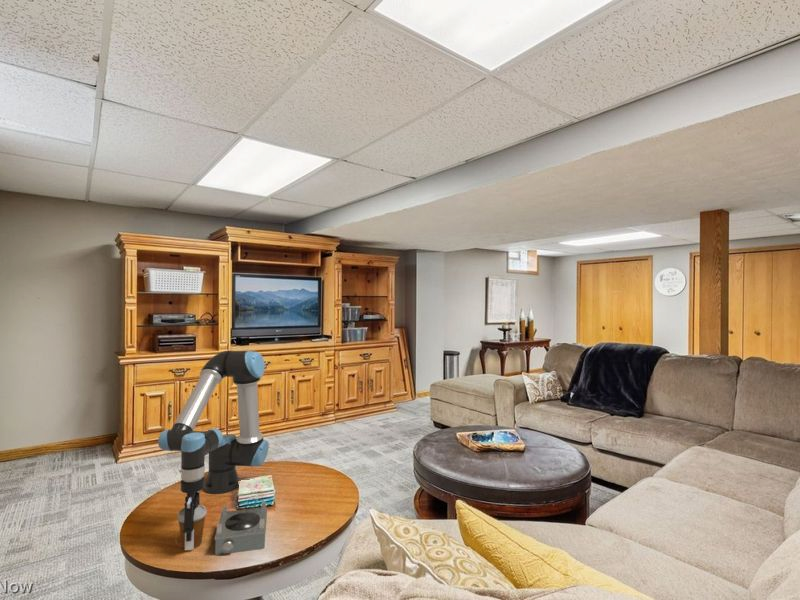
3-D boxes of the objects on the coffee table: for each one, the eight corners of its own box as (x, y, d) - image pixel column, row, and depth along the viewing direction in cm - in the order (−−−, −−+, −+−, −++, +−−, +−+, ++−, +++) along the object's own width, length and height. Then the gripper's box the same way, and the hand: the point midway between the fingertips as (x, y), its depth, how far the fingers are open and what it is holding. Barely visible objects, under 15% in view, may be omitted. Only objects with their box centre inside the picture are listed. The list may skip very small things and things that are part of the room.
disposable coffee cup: (204, 549, 148) (204, 515, 148) (173, 554, 146) (174, 518, 146) (208, 535, 158) (208, 502, 158) (179, 539, 155) (180, 506, 155)
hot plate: (221, 527, 163) (221, 504, 163) (267, 522, 167) (267, 499, 167) (213, 557, 144) (214, 530, 144) (265, 550, 149) (265, 524, 149)
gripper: (187, 468, 161) (186, 528, 161) (173, 491, 141) (172, 561, 141) (208, 466, 163) (208, 526, 163) (198, 489, 143) (197, 557, 143)
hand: (191, 542), depth 152 cm, fingers closed on disposable coffee cup, 8 cm apart
